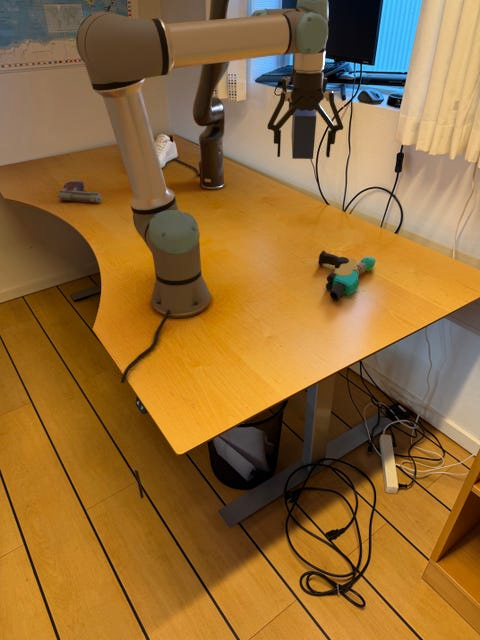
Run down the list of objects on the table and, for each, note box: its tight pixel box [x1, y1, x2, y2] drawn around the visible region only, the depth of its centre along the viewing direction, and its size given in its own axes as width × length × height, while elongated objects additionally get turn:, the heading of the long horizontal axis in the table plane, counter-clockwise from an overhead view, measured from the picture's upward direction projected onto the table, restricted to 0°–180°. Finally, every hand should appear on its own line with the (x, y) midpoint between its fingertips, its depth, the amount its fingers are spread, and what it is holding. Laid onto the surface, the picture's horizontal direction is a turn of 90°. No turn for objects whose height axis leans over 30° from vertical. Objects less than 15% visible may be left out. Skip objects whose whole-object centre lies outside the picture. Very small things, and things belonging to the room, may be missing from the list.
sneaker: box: [154, 133, 179, 168], centre depth 214 cm, size 10×29×12 cm, turn 163°
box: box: [291, 109, 317, 160], centre depth 142 cm, size 24×6×12 cm, turn 176°
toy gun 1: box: [56, 180, 103, 204], centre depth 185 cm, size 4×19×15 cm
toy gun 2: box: [318, 250, 376, 303], centre depth 132 cm, size 4×26×15 cm
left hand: (303, 155), depth 133 cm, fingers open, 13 cm apart
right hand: (302, 114), depth 148 cm, fingers closed on box, 6 cm apart
